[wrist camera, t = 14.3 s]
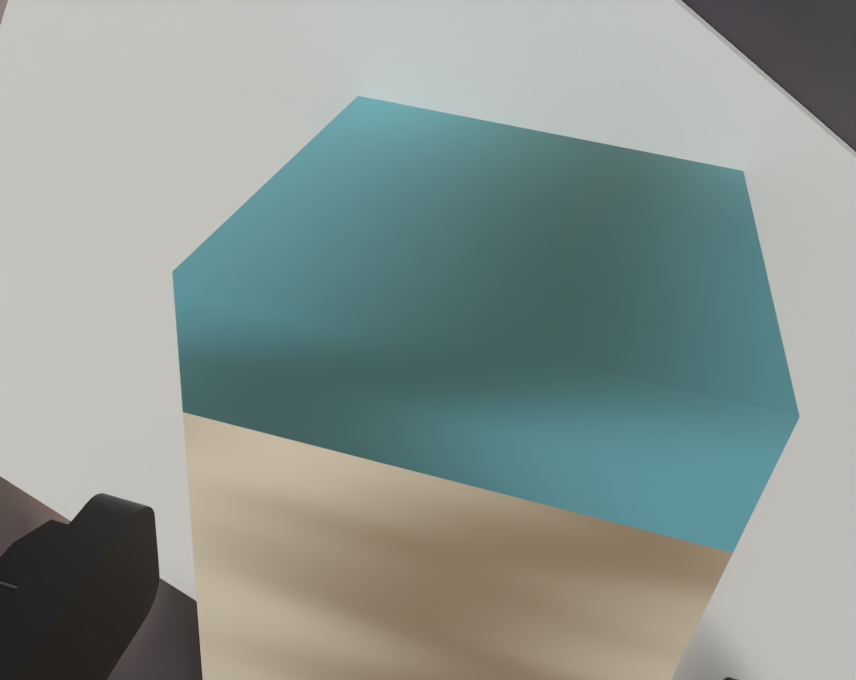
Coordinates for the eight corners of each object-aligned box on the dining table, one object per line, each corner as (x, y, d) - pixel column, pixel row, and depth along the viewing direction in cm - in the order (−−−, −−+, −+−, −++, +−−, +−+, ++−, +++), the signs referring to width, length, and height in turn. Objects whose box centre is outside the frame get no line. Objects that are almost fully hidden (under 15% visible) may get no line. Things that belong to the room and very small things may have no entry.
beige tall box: (218, 898, 13) (171, 271, 7) (321, 644, 17) (358, 95, 11) (514, 997, 13) (800, 417, 6) (549, 710, 17) (742, 171, 10)
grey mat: (1314, 550, 11) (1334, 572, 11) (595, 837, 20) (594, 854, 19) (172, -443, 8) (151, -453, 8) (-104, 389, 17) (-119, 400, 17)
